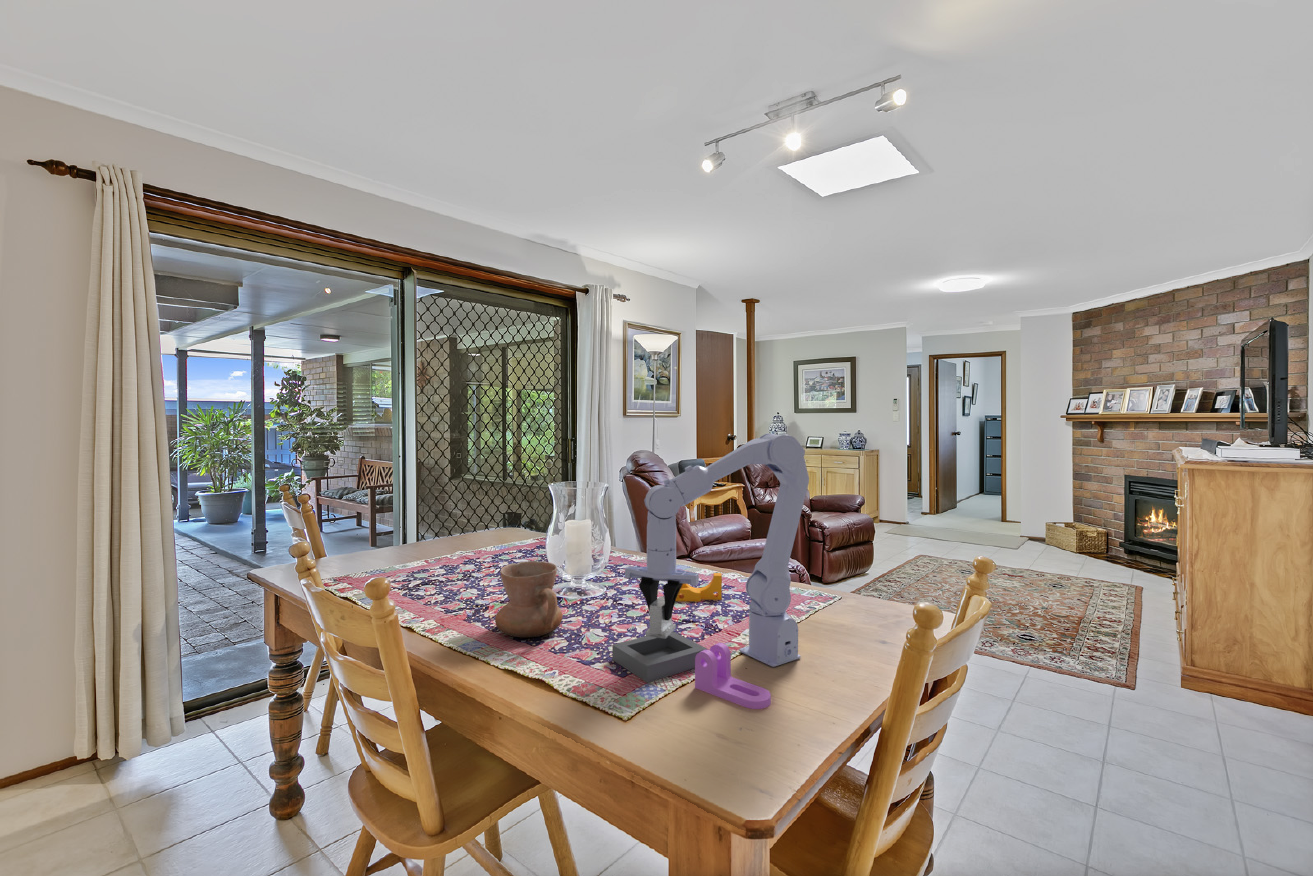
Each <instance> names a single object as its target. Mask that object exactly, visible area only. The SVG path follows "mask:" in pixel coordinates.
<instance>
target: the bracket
mask: <svg viewBox="0 0 1313 876" xmlns="http://www.w3.org/2000/svg"><path fill="white" fill-rule="evenodd" d="M731 658H732V656H731V650H730V649H729V646H728V645H726V644H725V643H723V642H718V643H717V642H716V643H715V644H713V645H712V646H710V648H709V649H708V650H703V651H701V652H699V653H698V654H697V655H696V657H695V668H694V688H695V689H697V690H700V691H701V692H705V693H708V694H710V695H713V696H715V697H718V698H721V699H722V700H725V701H728V702H731V703H734V704H736V705H739V706H742V707H744V708H747V709H750V710H752V709H753V710H761V709H766V708H768V707H769V706H771V703H772V702H771V701H772V697H771V694H772V693H771V692H770V691H769V690H768V689H766V688H764V687H763V686H759V685H756V684H753V683H750V682H747V681H744V680H742V679H739V678H736V677H734V676H732V674H731V671H732V670H731V665H732V664H731V663H732V659H731ZM705 660H706V661H705ZM706 662H707V663H706Z"/></svg>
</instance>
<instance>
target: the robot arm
mask: <svg viewBox="0 0 1313 876" xmlns="http://www.w3.org/2000/svg"><path fill="white" fill-rule="evenodd" d="M805 453H806V450H805V448H804V447H803V445H801V443H800V442H799V440H797V438H795V436H793V435H790V434H775V433H770V432H769V433H764V434H762V435H760V437H757V438H753V439H751V440H749V441H747V442H746V443H744V444H742V445H741V446H739V447H737V448H735V449H734V450H733V451H731V452H729V453H727V454H726V455H724V456H722V457H721V458H719V459H718V460H716V461H714V462H712V463H711V464H709V465H707V466H706V467H704V466H700V465H699V464H698V465H695V466H692V465H688V466H686V467H684V470H685V471H684V472H681V473H680V474H678V475H676V476H675V477H673V478H671V479H669V478H666V479H664V480H663V483H664V485H663V484H662V485H660V484H658V485H654V486H652V487H651V488H650V489H649V490H648V492H647V493H646V494H645V498H644V499H643V502H644V506H645V508H646V509H647V510H648V511H647V519H646V520H647V523H646V566H635V565H634V566H631V565H628V566H627V567H625V568H624V578H625V579H632V578H633V579H640V582H639V584H638V587H639V590H640V591H641V594H642V595H643V597H644V599H645V602H646V606H647V608H648V613H649V615H650V605H651V604H652V603H653V602H654V601H656V600H657V599H658V594H659V585H660V582H667V583H665V584H664V585H662V592H663V597H664V599H665V613H664V615H665V620H669V619H670V618H671V617H672V618H673V611H674V607H675V603H676V602H677V601H676V598H677V595H678V593H679V591H680V589H681V587H682V585H683V583H685V584H689V585H690V586H692V587H696V586H697V585H699V582H700V579H699V577H700V573H698V572H692V571H688V570H682V569H678V568H677V520H676V519H677V514H678V513H679V511H680V508H681V507H685V506H686V505H688V504H690V503H692V502H694V501H695V500H697V499H699V498H702V496H704V495H707V494H709V493H710V492H711V491H712V489H713V485H714V483H715V482H717V481H718V480H721V479H723V478H724V477H726V476H728V475H732V473H735V472H737V471H738V470H741V469H742V468H745V467H747V466H749V465H764V466H766V467H768V469H770V470H771V471H772V473H773V474H774V475H775V477H776V478H777V479H776V480H778V481H779V483H780V484H779V487H778V491H777V497H776V501H775V504H774V508H773V512H772V516H771V520H770V523H769V527H768V532H767V535H766V540H765V544H764V547H763V551H762V556H761V558H760V560H758V561H757V562H756V563H755V565H754V569H753V572H752V573H751V574H750V575H749V576H748V578H747V580H746V583H745V591H746V594H747V596H748V597H749V598H750V600H751V601H750V604H749V607H748V610H749V611H748V646H744V647H742V648H741V647H740V648H739V652H740V653H742V654H744V655H745V656H749V657H751V658H753V659H754V660H757V661H759V662H761V663H763V664H765V665H768V666H770V667H772V668H776V667H778V666H781V665H784V664H787V663H790V662H793V661H796V660H799V659H801V658H802V656H801V655H800V654H799V625H798V623H797V621H796V620H795V619H794V618H793V617H791V616H789V614H788V613H787V610H788V609H789V607H790V605H791V600H792V596H791V595H792V594H791V589H790V587H791V582H792V579H791V574H790V570H789V563H790V559H791V555H792V550H793V547H794V542H795V540H796V535H797V531H798V528H799V523H800V519H801V515H802V511H803V508H804V503H805V500H806V495H807V492H808V487H809V483H810V477H809V472H808V468H807V465H806V459H805V455H806V454H805Z"/></svg>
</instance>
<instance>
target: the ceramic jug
mask: <svg viewBox="0 0 1313 876" xmlns="http://www.w3.org/2000/svg"><path fill="white" fill-rule="evenodd" d="M557 571H558V566H557V565H556V564H554V563H552V562H549V561H537V560H533V561H532V560H531V561H530V560H529V561H528V560H527V561H520V562H518V563H515V562H514V563H513V562H512V563H509V564H506V565H504V566H503V567H501V569H500V579H501V582H502V585H503V588H504V590H505V593H506V596H507V598H508V600H509V602H508V603H506V604H505V605H503V606H502V607H501V608H500V609H499V610H498V611H497V612H496V615H495V617H494V623H495V626H496V628H497V629H498V630H499V631H500V632H501V633H503V634H505V635H507V636H510V637H515V638H535V637H540V636H544V635H547V634H550V633H551V632H553V631H555V630H556V629H557V628H558V627H560V626H561V623H562V621H563V617H564V615H563V612H562V610H561V608H560V606H558V599H557V598H558V596H557V593H556V592H555V591H554V590H553V589H554V586H555V582H556V579H557Z"/></svg>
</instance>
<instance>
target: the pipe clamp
mask: <svg viewBox="0 0 1313 876" xmlns="http://www.w3.org/2000/svg"><path fill="white" fill-rule="evenodd" d="M722 583H723V576H722V573H721V572H713V575H712V579H711V581H710V582H709V583H708V584H706V585H705V586H702V587H695V586H693V585H691V584H685V583H683V585H682V587H681V589H680V591H679V593H678V595H677V598H676V601H675V602H701V600H703V601H704V600H705V601H706V600H707V601H708V600H711V601H712V600H717V601H718V600H719V601H720V600H723V599H722V595H723V594H722V593H723V591H722V587H723V584H722Z"/></svg>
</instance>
